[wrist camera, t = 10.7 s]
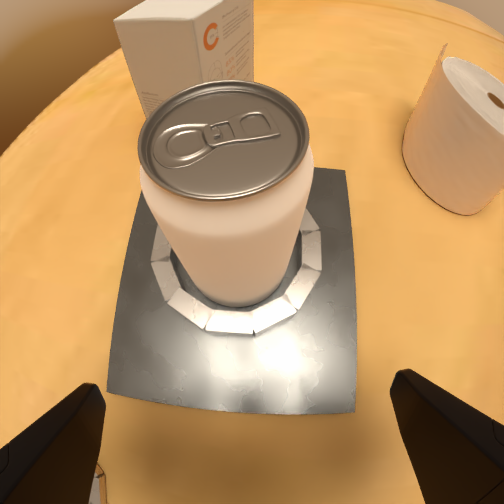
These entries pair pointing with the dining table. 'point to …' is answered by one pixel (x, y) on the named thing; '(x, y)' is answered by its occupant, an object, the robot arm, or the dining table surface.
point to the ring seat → (243, 323)
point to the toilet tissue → (458, 136)
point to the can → (228, 184)
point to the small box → (185, 45)
